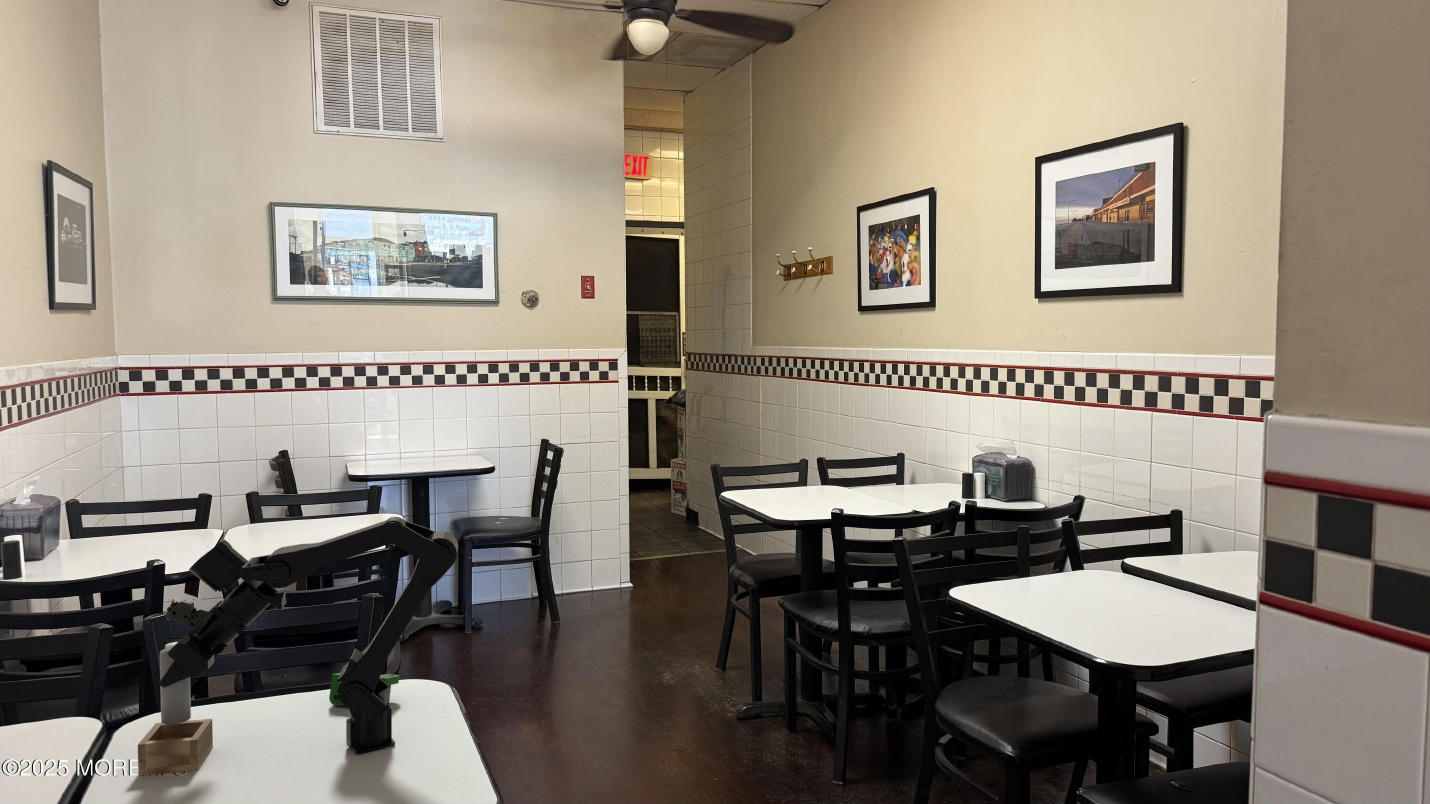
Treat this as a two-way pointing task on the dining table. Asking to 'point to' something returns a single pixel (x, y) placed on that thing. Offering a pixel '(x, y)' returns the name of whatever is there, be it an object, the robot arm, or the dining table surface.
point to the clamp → (333, 696)
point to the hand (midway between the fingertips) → (166, 680)
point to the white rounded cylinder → (174, 693)
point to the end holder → (175, 747)
